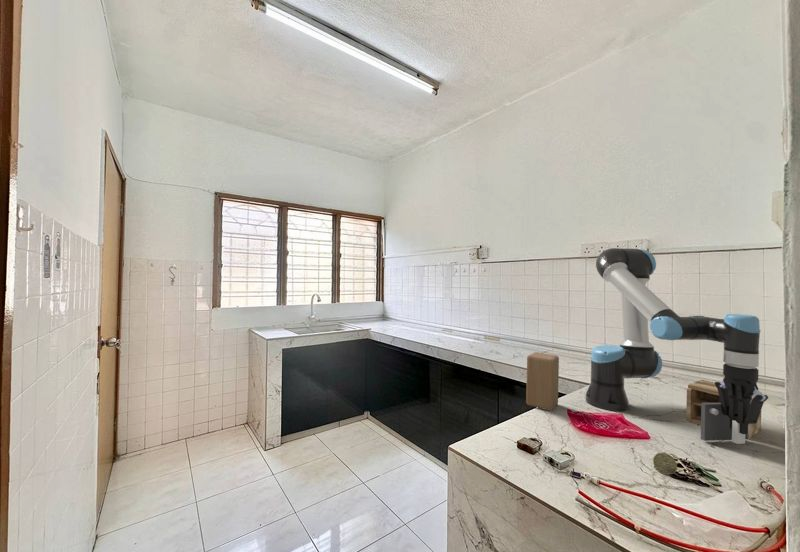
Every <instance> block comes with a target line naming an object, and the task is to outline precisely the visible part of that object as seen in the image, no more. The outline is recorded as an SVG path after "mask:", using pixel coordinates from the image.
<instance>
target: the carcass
mask: <svg viewBox="0 0 800 552" xmlns="http://www.w3.org/2000/svg"><path fill="white" fill-rule="evenodd" d="M715 382H716V381H715ZM715 382H714V381H709V380H705V379H700V380H697V381H695V382H692V383H689V384H687V388H686V408H685V409H686V413H685V414H686V416H685V419H686V420H685V421H686V422H689V423H693V424H697V425H700V426H701V403H721V402H720V397H719V393H718V389H717V387H716V385H715ZM753 395H754V394H753ZM753 395H752V396H753ZM752 399H753V397H752ZM751 401H752V400H751ZM751 401H750V404H751ZM748 426H749V427H750V437H748V439H747V440H749V439H751V438H752V437H754V436H755V435H757V433H759V432H761V431H762V411H761V412H760V415H759V418H758V421H757V423H756V424H748Z"/></svg>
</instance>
